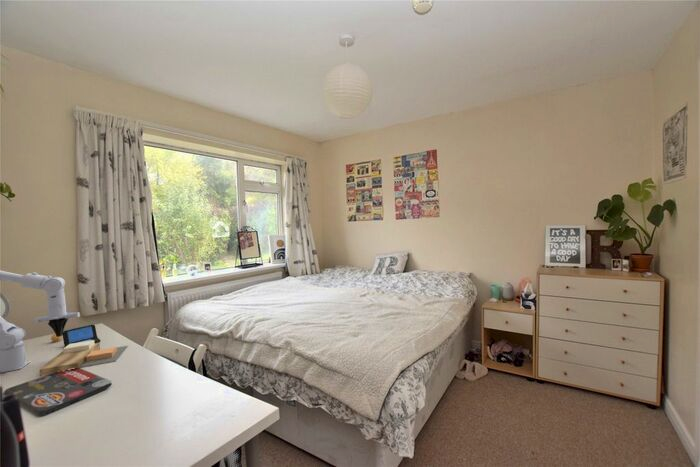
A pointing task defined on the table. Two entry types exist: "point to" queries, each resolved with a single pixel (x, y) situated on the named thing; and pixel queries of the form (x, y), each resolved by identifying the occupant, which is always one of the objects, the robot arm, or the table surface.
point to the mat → (105, 360)
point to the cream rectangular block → (78, 346)
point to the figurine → (55, 338)
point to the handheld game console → (80, 335)
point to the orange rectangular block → (101, 354)
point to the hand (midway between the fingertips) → (59, 335)
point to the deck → (67, 360)
